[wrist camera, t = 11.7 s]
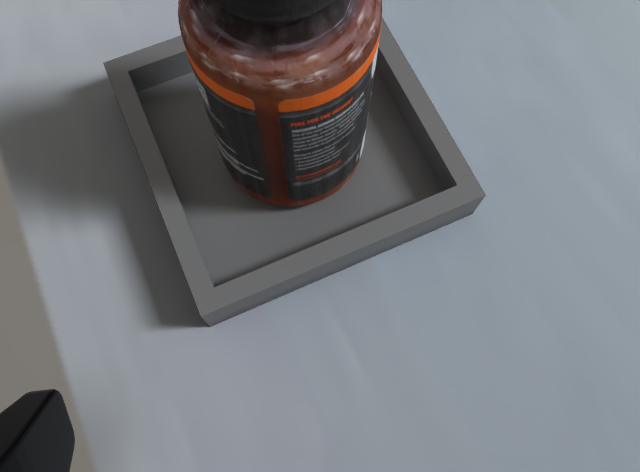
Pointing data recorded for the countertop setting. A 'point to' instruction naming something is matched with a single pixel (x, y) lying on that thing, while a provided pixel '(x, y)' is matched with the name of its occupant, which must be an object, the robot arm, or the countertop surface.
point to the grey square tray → (287, 221)
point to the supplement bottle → (285, 89)
